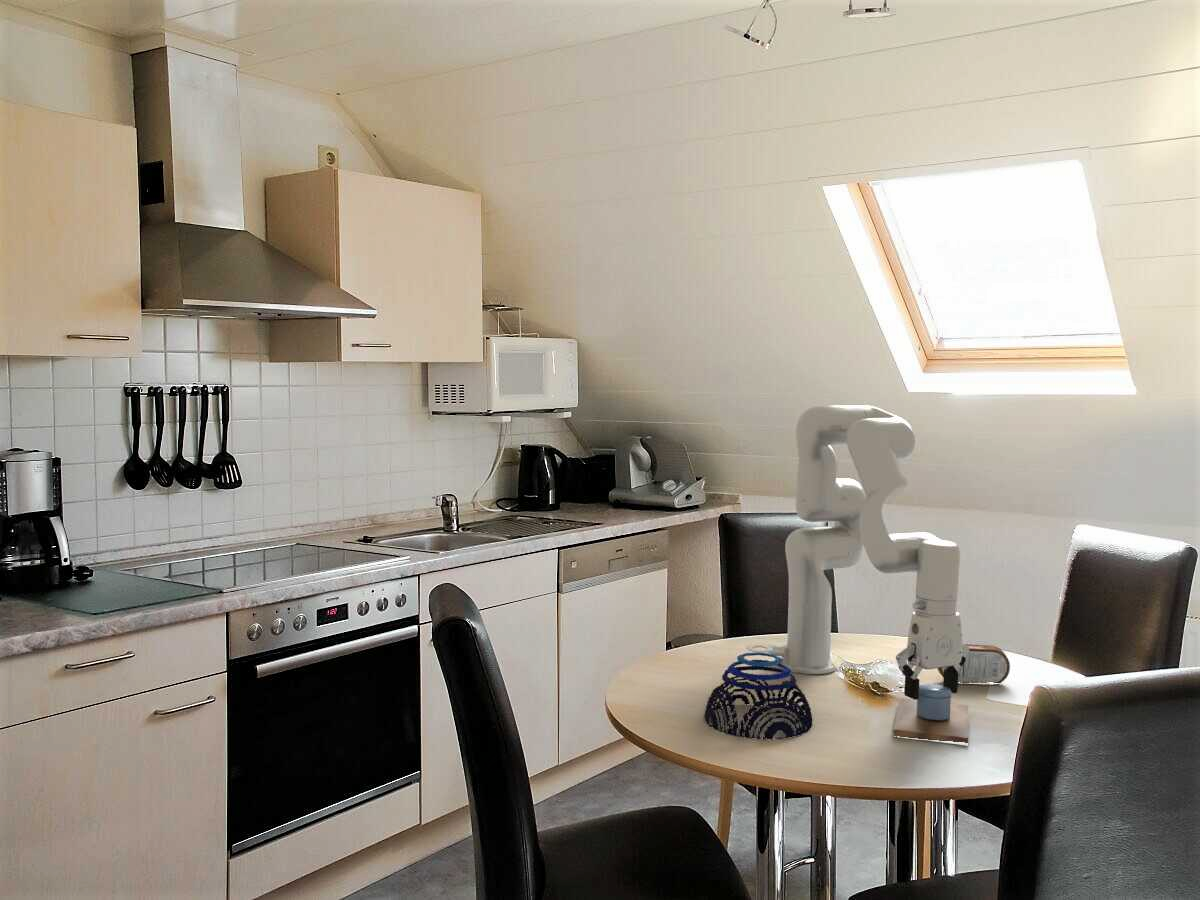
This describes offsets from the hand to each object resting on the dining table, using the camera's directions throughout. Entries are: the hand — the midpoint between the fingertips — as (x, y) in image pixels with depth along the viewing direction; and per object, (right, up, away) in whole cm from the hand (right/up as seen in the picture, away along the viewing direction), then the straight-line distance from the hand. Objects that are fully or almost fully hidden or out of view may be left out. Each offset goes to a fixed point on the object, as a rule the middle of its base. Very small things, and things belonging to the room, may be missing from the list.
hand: (930, 694), depth 208 cm
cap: (0, -4, 0) cm, 4 cm away
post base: (0, -6, 0) cm, 6 cm away
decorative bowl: (-33, -6, +1) cm, 33 cm away
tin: (+17, -4, +27) cm, 32 cm away
